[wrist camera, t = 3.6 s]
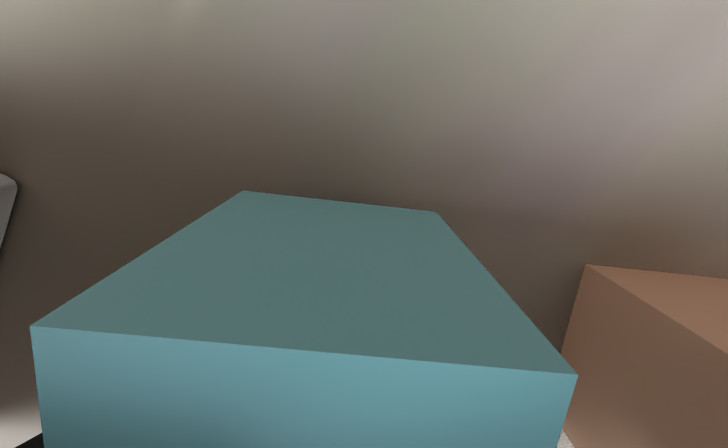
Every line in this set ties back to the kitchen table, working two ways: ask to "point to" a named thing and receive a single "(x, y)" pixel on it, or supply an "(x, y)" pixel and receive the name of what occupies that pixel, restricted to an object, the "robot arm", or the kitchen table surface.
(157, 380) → the teal bar
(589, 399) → the terracotta block
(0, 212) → the coffee box
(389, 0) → the kitchen table surface
